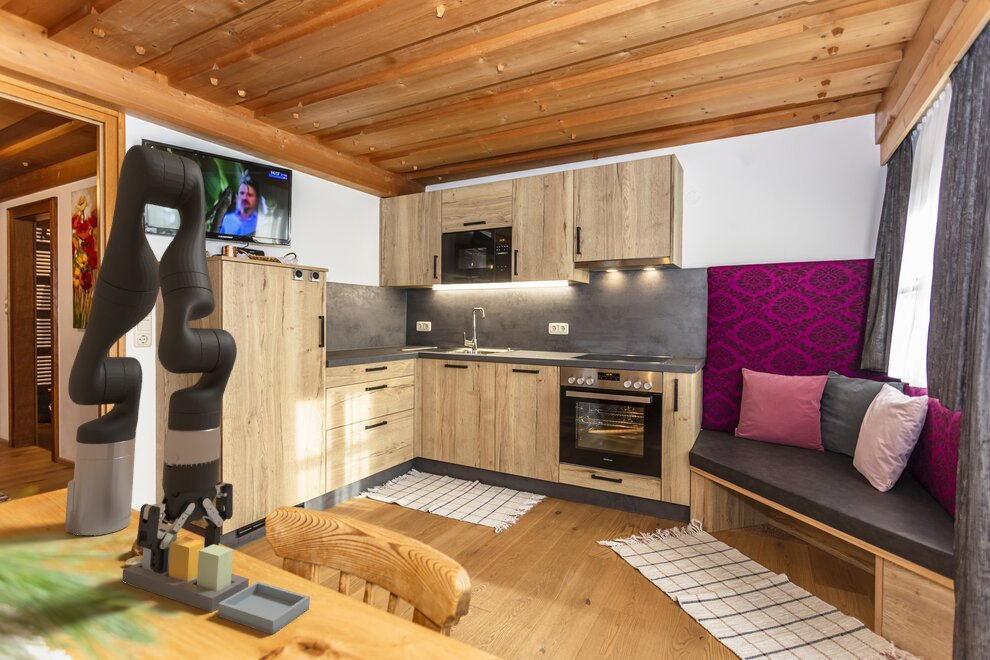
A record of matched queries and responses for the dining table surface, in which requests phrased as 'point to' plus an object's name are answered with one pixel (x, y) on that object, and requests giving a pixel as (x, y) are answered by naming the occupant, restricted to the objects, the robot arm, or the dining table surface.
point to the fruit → (135, 555)
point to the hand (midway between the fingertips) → (186, 560)
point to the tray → (263, 607)
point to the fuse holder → (182, 587)
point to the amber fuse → (184, 558)
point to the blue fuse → (147, 555)
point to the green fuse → (214, 567)
